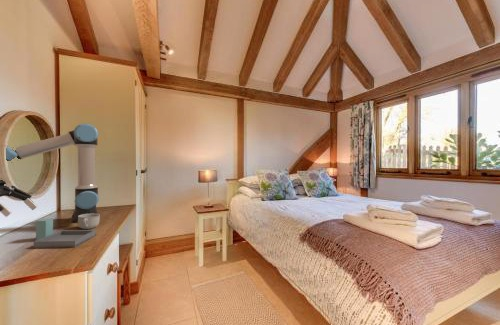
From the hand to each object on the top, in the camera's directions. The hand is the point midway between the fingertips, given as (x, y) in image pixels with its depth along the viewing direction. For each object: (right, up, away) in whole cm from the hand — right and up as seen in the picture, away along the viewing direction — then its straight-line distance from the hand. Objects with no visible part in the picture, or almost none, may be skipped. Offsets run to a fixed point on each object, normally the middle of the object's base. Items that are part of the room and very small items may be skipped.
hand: (22, 211), depth 107 cm
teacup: (+19, -15, +18) cm, 31 cm away
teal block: (+10, -15, +1) cm, 18 cm away
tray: (+24, -15, -1) cm, 29 cm away
